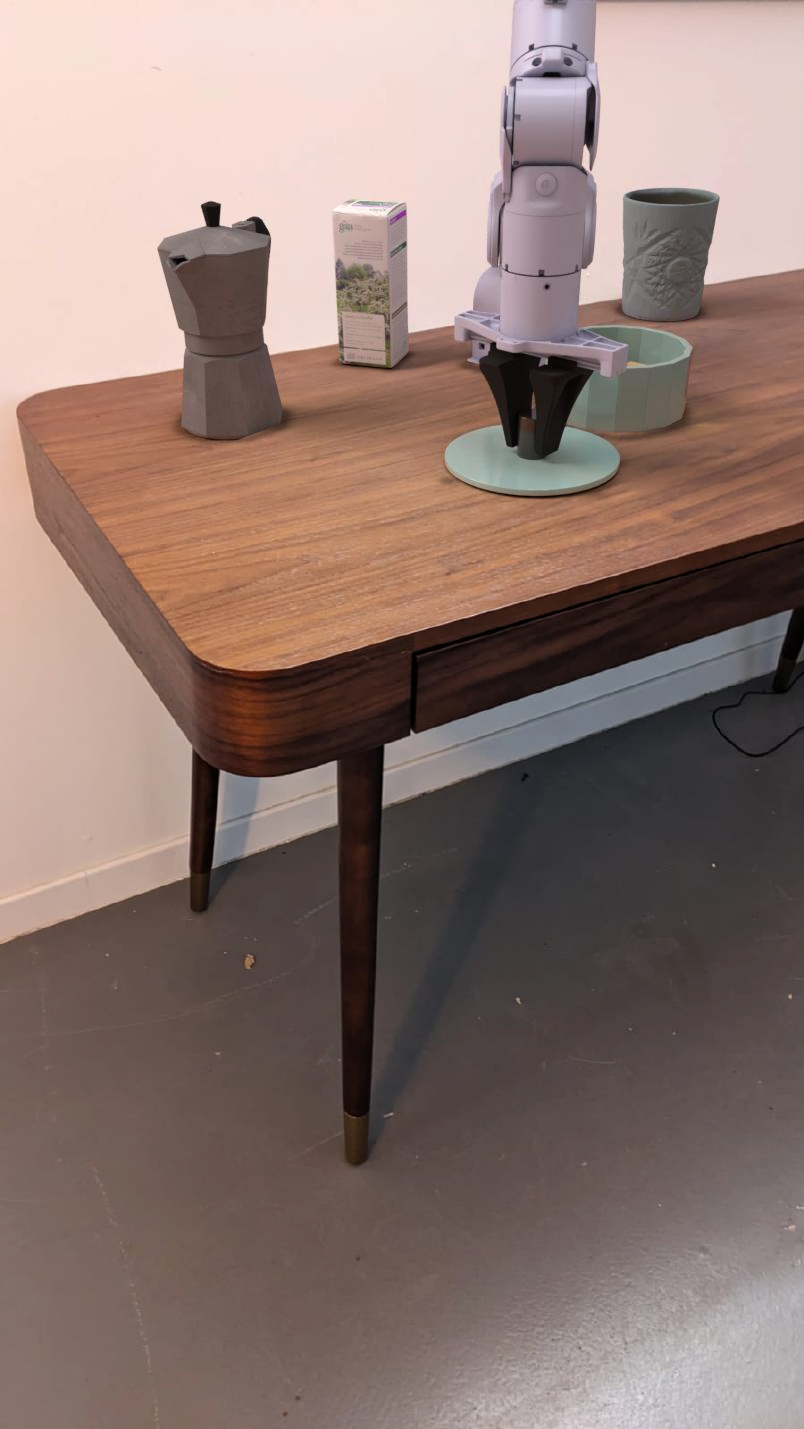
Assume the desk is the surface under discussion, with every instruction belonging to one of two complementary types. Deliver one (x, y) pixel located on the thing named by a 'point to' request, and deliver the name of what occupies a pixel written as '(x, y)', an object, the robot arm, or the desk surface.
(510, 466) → the lid
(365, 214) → the syrup box
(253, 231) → the coffeepot
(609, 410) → the pot
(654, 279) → the drinking glass
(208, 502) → the desk surface
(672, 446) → the desk surface
